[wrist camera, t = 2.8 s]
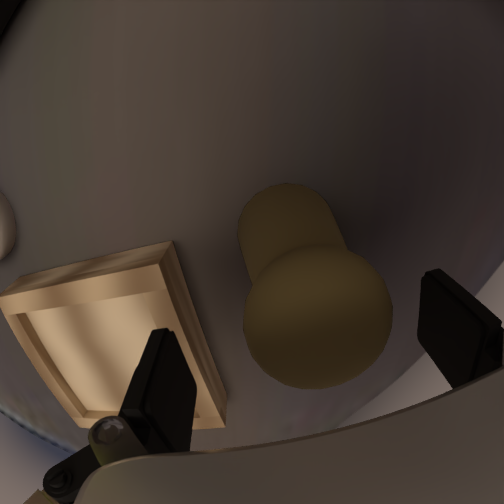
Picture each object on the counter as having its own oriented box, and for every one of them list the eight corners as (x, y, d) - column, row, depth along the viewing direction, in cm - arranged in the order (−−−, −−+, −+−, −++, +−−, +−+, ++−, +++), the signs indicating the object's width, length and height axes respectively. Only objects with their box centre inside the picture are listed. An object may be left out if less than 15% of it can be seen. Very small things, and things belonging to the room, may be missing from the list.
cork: (277, 293, 21) (301, 432, 11) (216, 226, 19) (184, 343, 9) (352, 239, 19) (440, 348, 9) (296, 162, 18) (364, 213, 7)
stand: (172, 240, 19) (158, 263, 16) (226, 394, 24) (225, 427, 21) (19, 277, 20) (-5, 298, 17) (91, 401, 25) (79, 427, 22)
